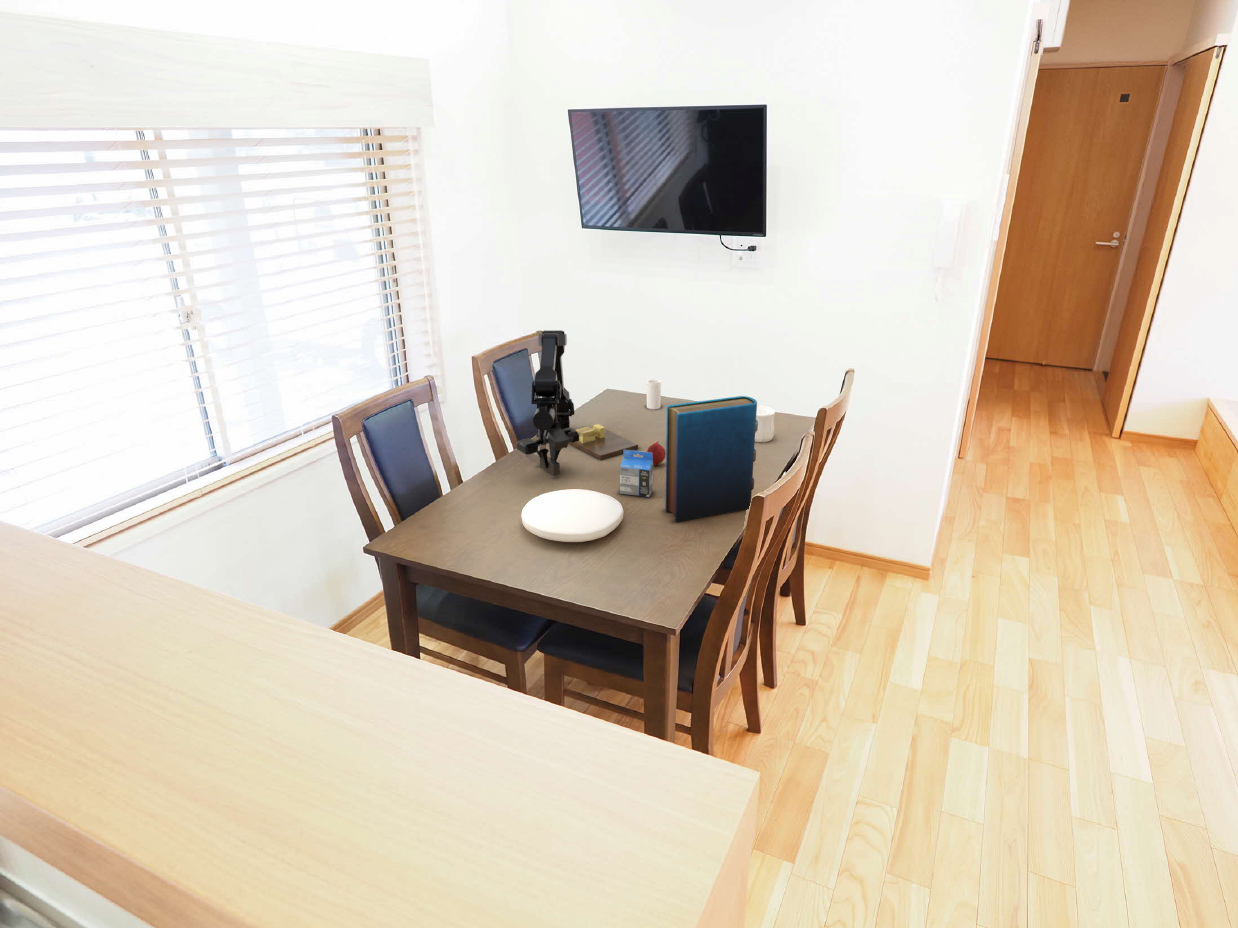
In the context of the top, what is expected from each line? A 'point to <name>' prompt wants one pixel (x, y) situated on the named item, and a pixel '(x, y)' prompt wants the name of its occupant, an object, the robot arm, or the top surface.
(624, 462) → the label tape box
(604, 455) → the cutting board
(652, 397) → the cup
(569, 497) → the white round disc
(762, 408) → the cup
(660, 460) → the onion
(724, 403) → the book
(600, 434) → the butter slice
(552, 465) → the butter knife
